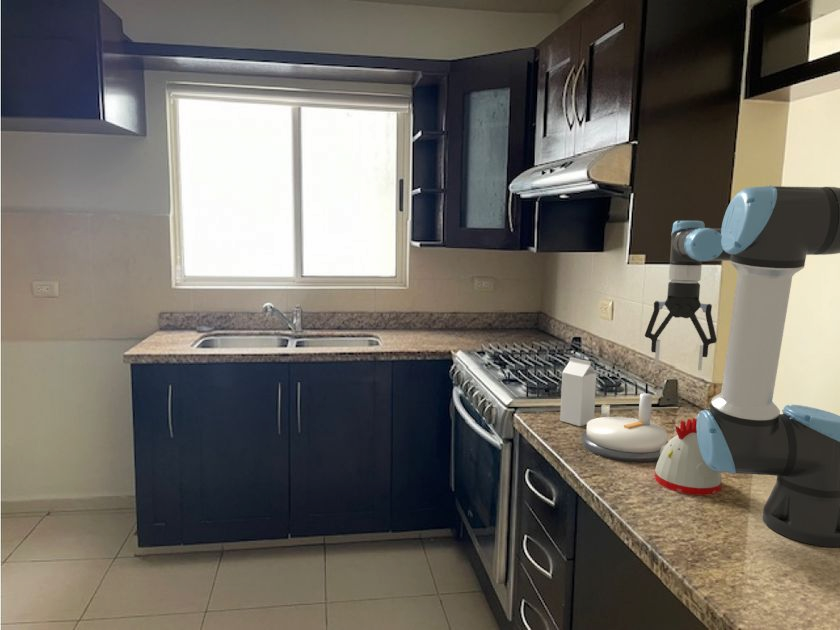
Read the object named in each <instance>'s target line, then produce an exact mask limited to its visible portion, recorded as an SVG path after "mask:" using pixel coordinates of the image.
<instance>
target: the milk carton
mask: <svg viewBox="0 0 840 630" xmlns="http://www.w3.org/2000/svg"><path fill="white" fill-rule="evenodd" d="M591 364H592V363H591V360H586V359H585V360H584V359H581V358H575V357H569V361H568V363H567V364H566V366H565V367H564V369H563V371H562V372H561V376H562V377H561V391H560V392H561V394H560V397H561V398H560V412H559V415H560V416H559V420H560V421H561V422H563V423H567V424H570V425H574V426H577V427H583V426H585V425H586V426H587V422H588V421H590V420H592V419H595V407H596V405H595V404H596V389H597V388H596V386H597V371H596V370H595V369H594V368H593V366H592V365H591Z"/></svg>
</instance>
